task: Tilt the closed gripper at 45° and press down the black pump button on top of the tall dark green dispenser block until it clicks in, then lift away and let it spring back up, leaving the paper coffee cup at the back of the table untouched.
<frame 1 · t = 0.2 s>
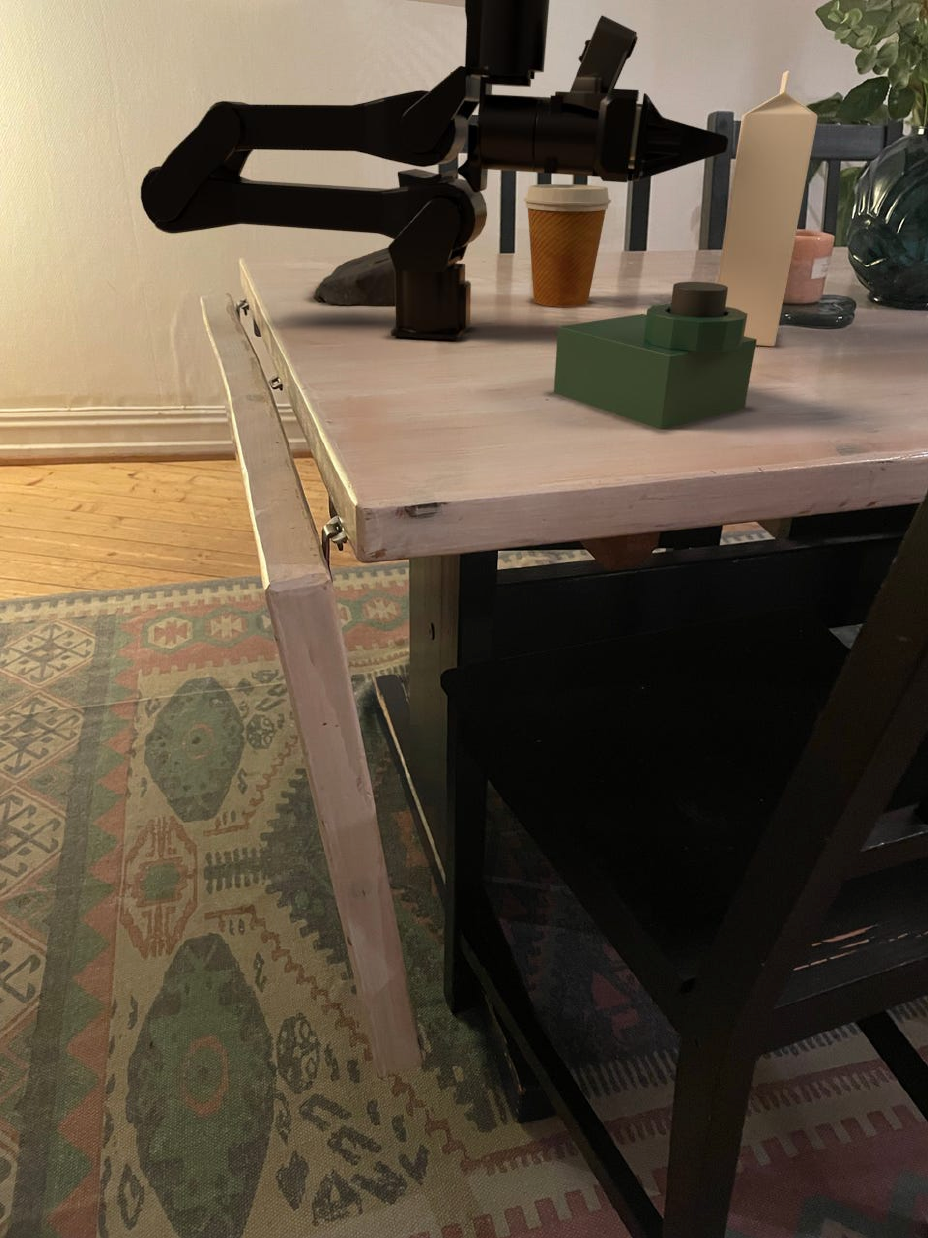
hand: (723, 145, 72), 17 cm above the table, tool horizontal, fingers open, 9 cm apart
disposable coffee cup: (560, 303, 100), on the table
pump button: (698, 301, 58), point 8 cm above the table, slide at 0.1 cm
dispenser: (646, 401, 65), on the table
dark slate chunk: (383, 290, 106), on the table
milk: (740, 340, 84), on the table
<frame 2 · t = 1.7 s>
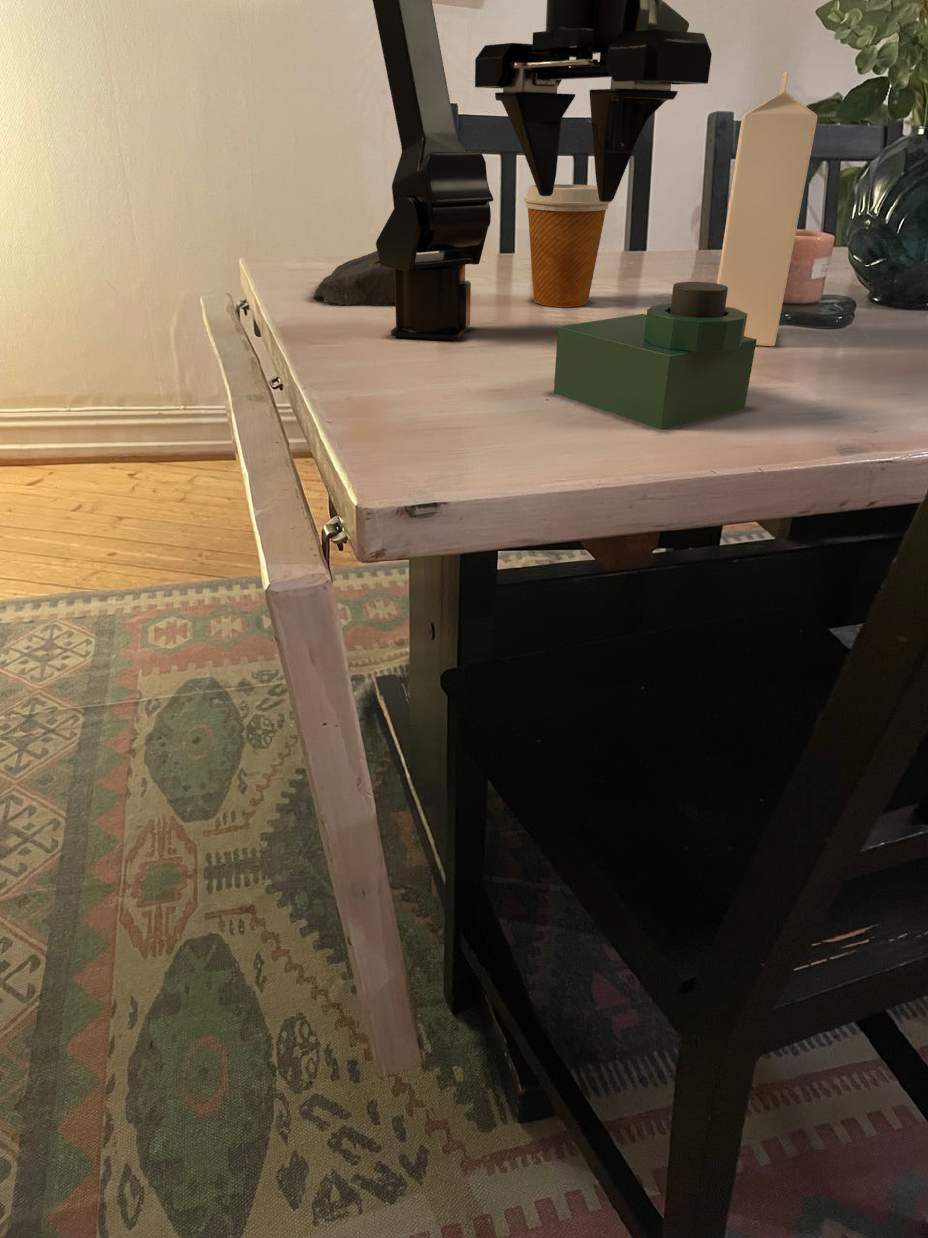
hand: (575, 198, 66), 13 cm above the table, tool pointing down, fingers open, 6 cm apart
nothing on the table moved.
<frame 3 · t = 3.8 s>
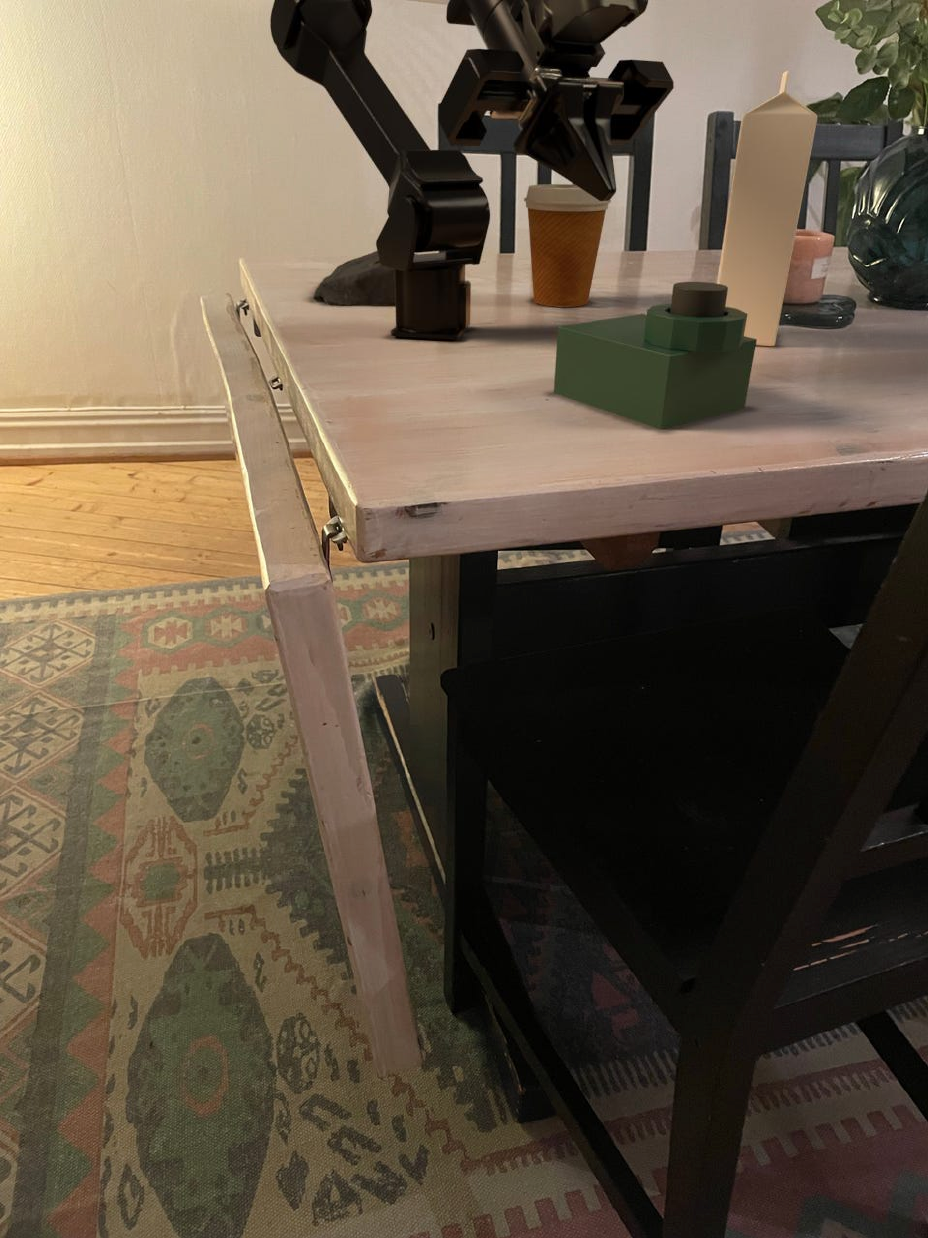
hand: (609, 196, 62), 13 cm above the table, tool tilted 45°, fingers closed
nothing on the table moved.
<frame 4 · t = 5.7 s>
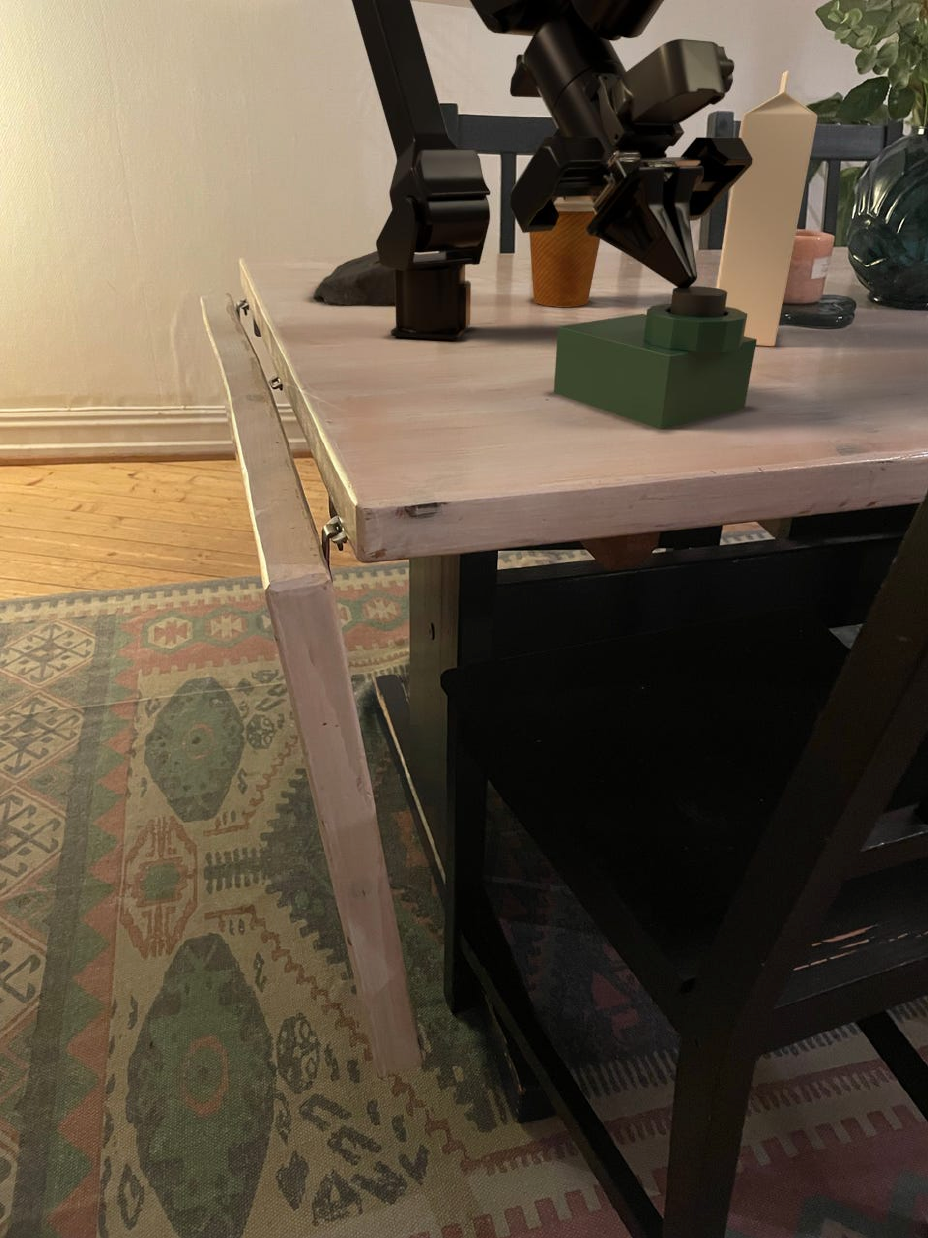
hand: (689, 283, 59), 9 cm above the table, tool tilted 45°, fingers closed, pressing on pump button
pump button: (697, 306, 59), point 7 cm above the table, slide at -0.2 cm, touching gripper
everything else where it was.
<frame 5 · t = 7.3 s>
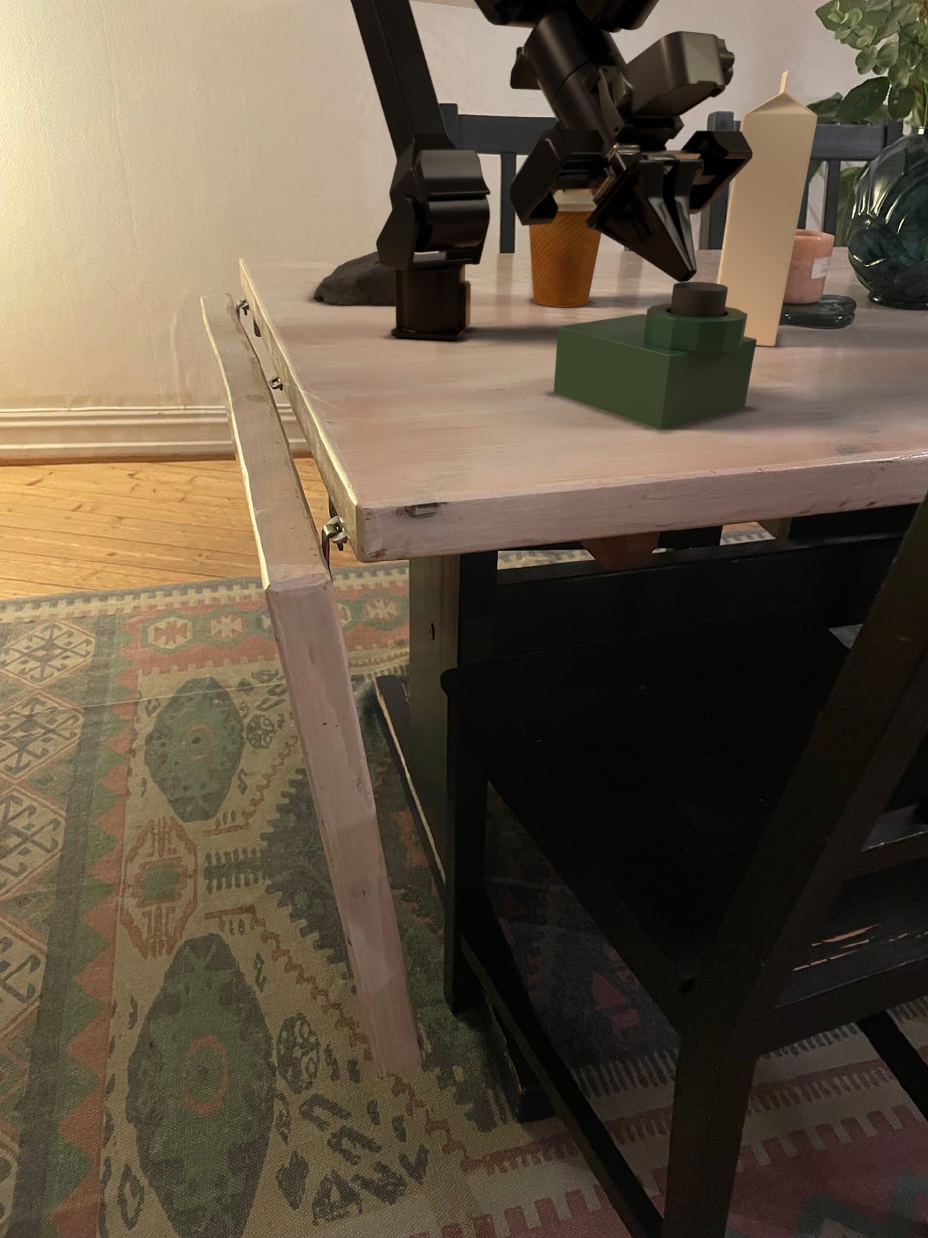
hand: (688, 277, 58), 9 cm above the table, tool tilted 45°, fingers closed
pump button: (698, 301, 58), point 8 cm above the table, slide at 0.1 cm
everything else where it was.
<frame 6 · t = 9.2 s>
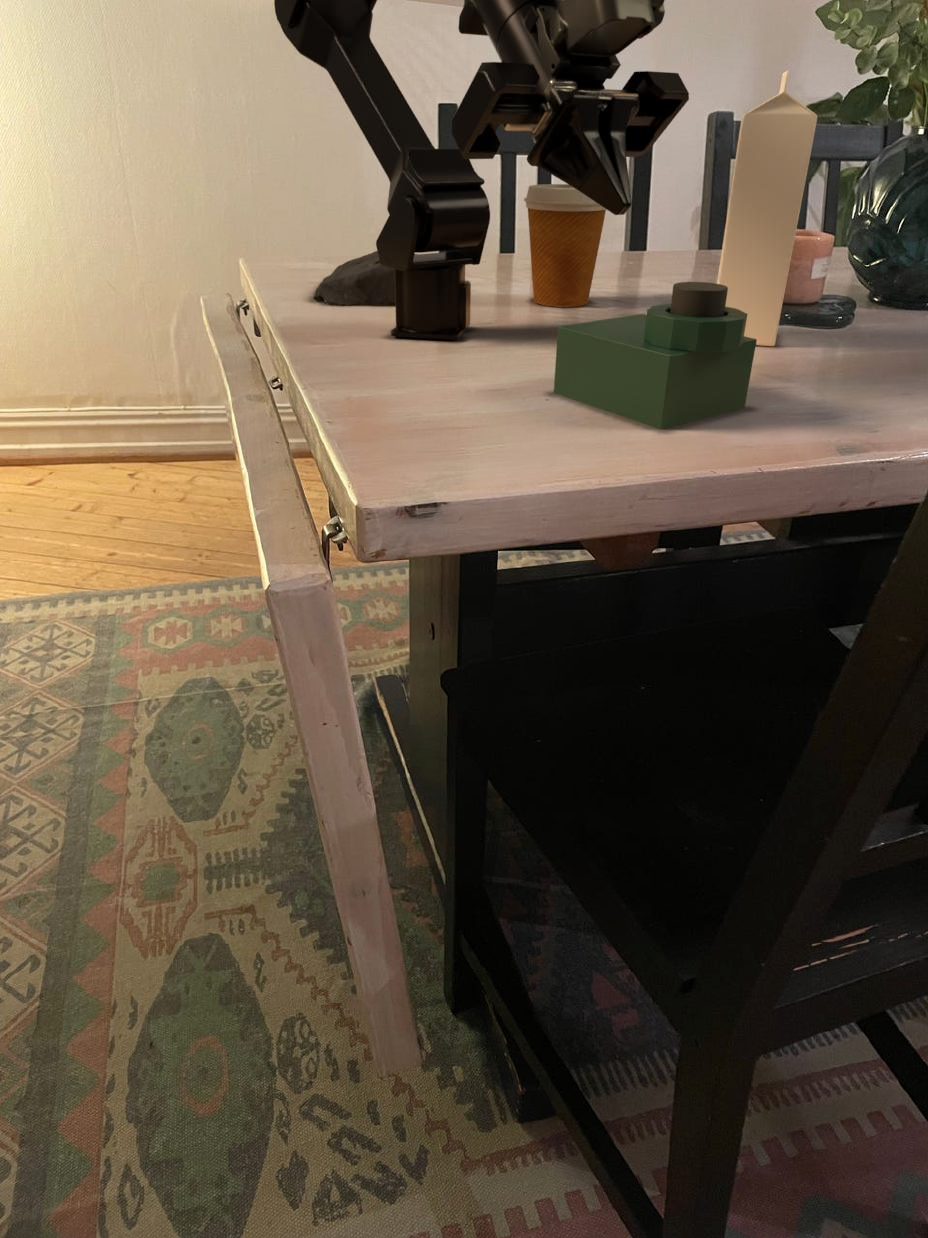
hand: (624, 210, 61), 13 cm above the table, tool tilted 45°, fingers closed
nothing on the table moved.
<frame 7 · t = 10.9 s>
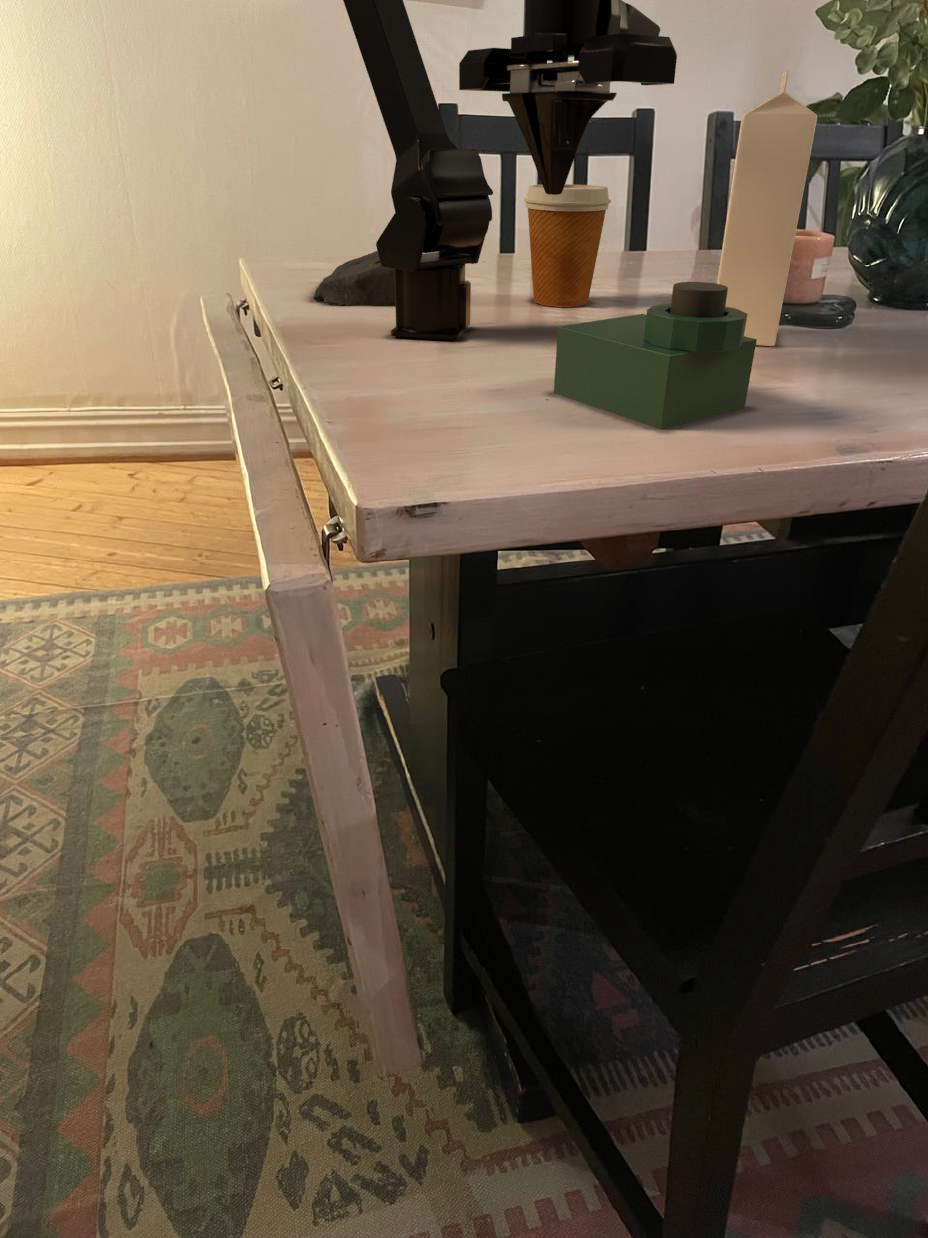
hand: (553, 194, 69), 13 cm above the table, tool pointing down, fingers closed
nothing on the table moved.
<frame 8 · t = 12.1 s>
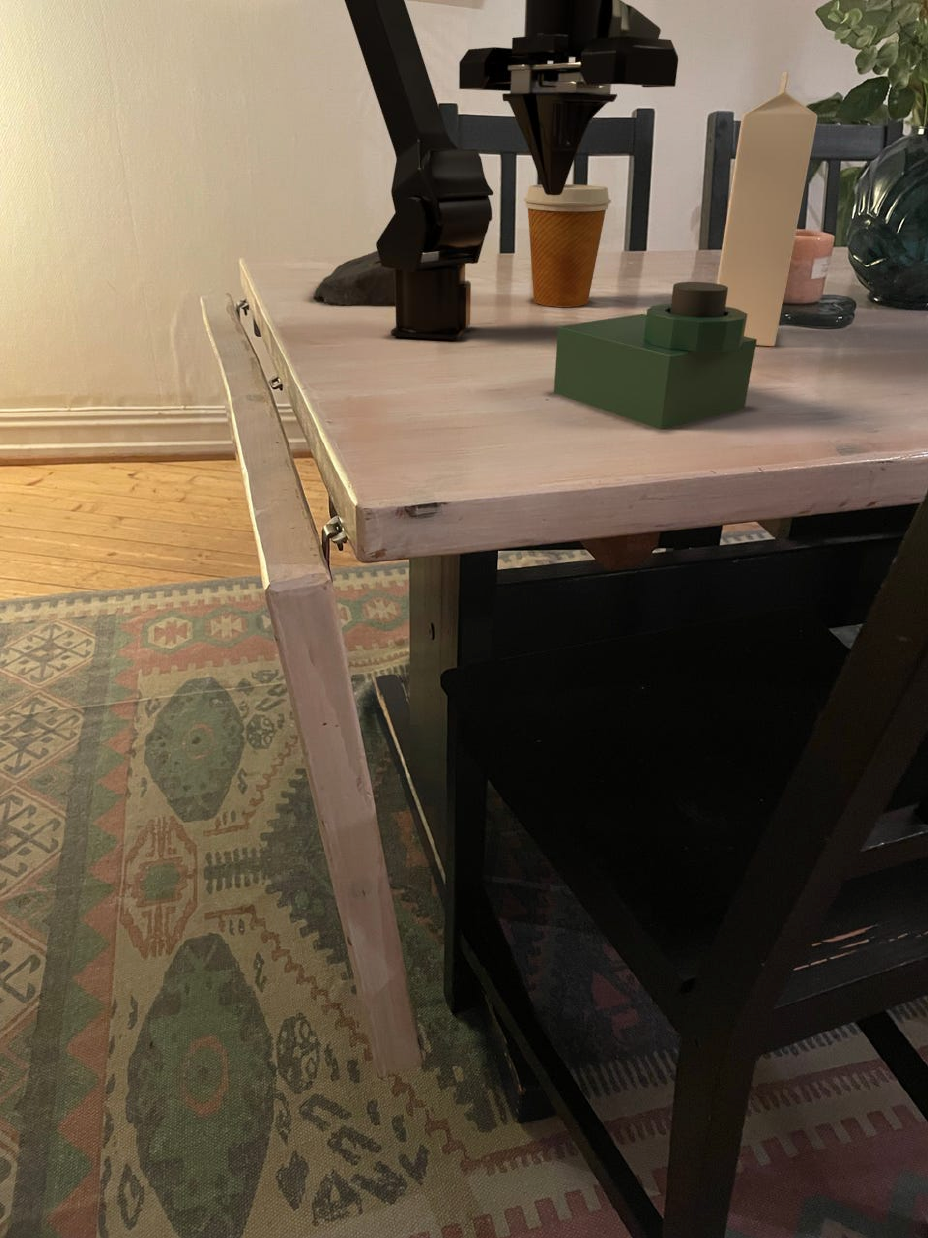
hand: (553, 194, 69), 13 cm above the table, tool pointing down, fingers closed
nothing on the table moved.
at the end: pump button pushed in 1.5 cm at the most during the clip, back to where it started at the end; pump button slide at 0.1 cm; disposable coffee cup moved 0.2 cm from its start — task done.
